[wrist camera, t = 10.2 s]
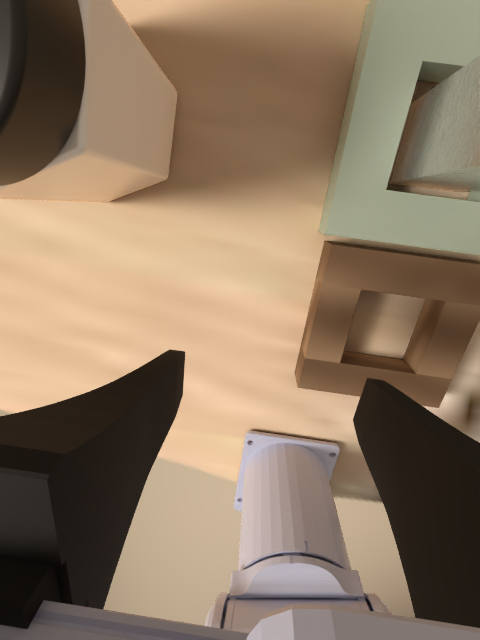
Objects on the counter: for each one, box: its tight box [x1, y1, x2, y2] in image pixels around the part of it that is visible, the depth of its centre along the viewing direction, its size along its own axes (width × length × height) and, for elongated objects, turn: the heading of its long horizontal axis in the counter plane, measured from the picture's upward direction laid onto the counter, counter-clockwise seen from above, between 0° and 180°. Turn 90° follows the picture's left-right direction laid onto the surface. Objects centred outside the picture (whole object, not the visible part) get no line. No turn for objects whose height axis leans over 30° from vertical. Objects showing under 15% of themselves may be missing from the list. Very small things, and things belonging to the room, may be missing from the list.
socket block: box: [295, 241, 480, 408], centre depth 20 cm, size 10×10×2 cm
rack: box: [319, 0, 480, 255], centre depth 16 cm, size 11×11×2 cm
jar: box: [0, 0, 178, 203], centre depth 12 cm, size 9×8×12 cm
